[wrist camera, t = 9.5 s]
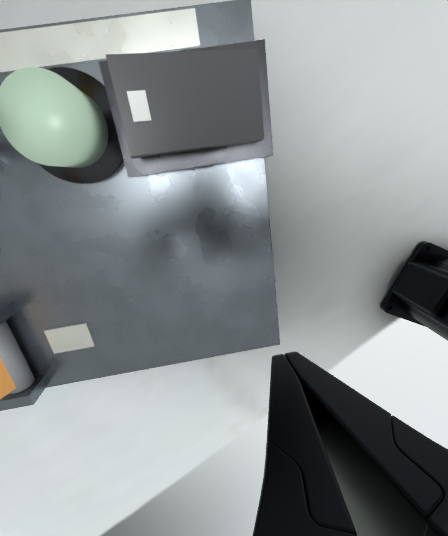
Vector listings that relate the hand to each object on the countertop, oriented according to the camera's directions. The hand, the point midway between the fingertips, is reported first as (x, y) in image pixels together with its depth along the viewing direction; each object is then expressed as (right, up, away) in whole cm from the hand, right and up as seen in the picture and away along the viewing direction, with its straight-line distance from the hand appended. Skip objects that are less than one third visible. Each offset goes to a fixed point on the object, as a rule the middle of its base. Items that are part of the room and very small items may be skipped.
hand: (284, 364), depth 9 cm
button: (-10, +11, +5) cm, 15 cm away
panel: (-9, +6, +10) cm, 15 cm away
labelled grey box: (-4, +11, +4) cm, 13 cm away
